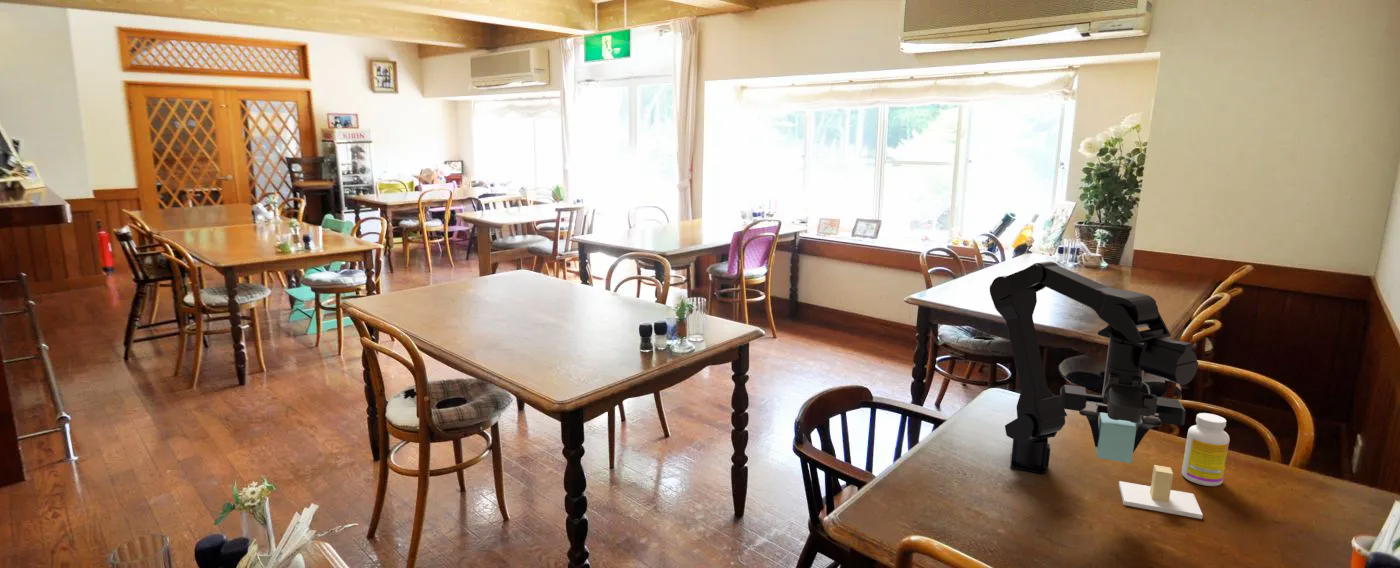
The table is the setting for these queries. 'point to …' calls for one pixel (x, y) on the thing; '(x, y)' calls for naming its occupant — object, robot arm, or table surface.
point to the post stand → (1160, 495)
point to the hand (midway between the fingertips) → (1113, 449)
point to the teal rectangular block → (1115, 439)
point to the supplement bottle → (1206, 450)
